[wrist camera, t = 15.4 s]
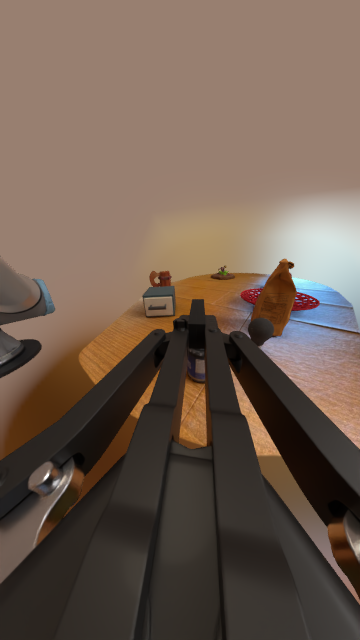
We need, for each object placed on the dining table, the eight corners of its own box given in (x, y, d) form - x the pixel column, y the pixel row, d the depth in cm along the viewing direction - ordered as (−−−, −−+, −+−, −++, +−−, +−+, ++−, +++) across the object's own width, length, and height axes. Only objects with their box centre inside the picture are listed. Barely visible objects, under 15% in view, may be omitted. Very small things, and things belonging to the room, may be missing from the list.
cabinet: (174, 315, 59) (173, 294, 55) (146, 316, 59) (142, 295, 55) (175, 303, 72) (174, 285, 68) (152, 305, 72) (149, 287, 68)
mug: (171, 290, 97) (170, 269, 90) (174, 293, 89) (172, 270, 83) (151, 293, 94) (148, 270, 87) (152, 296, 87) (148, 272, 80)
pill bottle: (186, 363, 34) (185, 325, 29) (210, 362, 34) (213, 324, 29) (188, 385, 28) (187, 343, 23) (216, 383, 28) (222, 341, 23)
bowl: (265, 324, 49) (268, 312, 46) (228, 299, 74) (229, 290, 72) (335, 316, 51) (342, 304, 49) (276, 295, 77) (279, 286, 75)
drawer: (172, 319, 54) (171, 300, 50) (144, 320, 54) (140, 302, 50) (174, 303, 70) (173, 289, 66) (152, 304, 70) (150, 290, 66)
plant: (220, 280, 121) (221, 267, 116) (208, 277, 137) (209, 265, 132) (237, 277, 127) (239, 265, 122) (224, 275, 143) (225, 264, 138)
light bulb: (248, 342, 40) (255, 312, 35) (269, 350, 36) (280, 318, 32) (239, 351, 37) (246, 319, 32) (261, 361, 33) (272, 327, 28)
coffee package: (281, 323, 49) (305, 257, 39) (283, 341, 40) (314, 261, 30) (252, 317, 54) (265, 258, 44) (247, 332, 45) (262, 261, 35)
